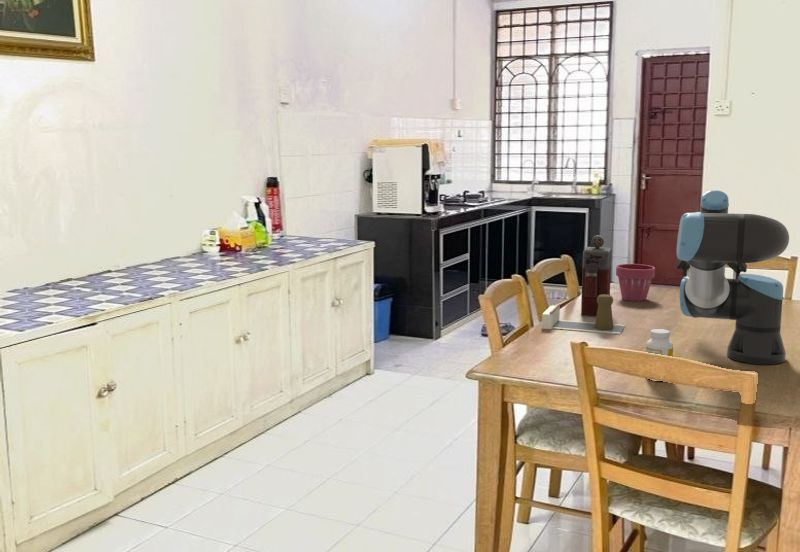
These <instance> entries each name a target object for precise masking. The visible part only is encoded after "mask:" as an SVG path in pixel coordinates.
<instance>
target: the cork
mask: <svg viewBox="0 0 800 552" xmlns="http://www.w3.org/2000/svg"><path fill="white" fill-rule="evenodd" d="M597 303H598V310H597V316H596V317H595V322H594V323H595V328H596V329H600V330H611V329H613V324H614V320H613V310H612V305H613V303H614V297H613V296H612V295H611V294H610V295H606V294H603V295H599V296H598V297H597Z"/></svg>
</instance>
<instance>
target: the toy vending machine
mask: <svg viewBox="0 0 800 552" xmlns="http://www.w3.org/2000/svg"><path fill="white" fill-rule="evenodd" d="M590 243H591V246H587V247H586V248H585V249H584V250H583V251H582V267H581V269H582V271H581V275H582V277H581V307H580V309H581V310H580V316H581V317H582V316H583V317H594V318H596V316H597V310H598V303H597V297H598V296H599V295H603V294H606V295H611V280H612V279H611V278H612V277H611V274H612V273H611V271H612V252H613V251H612V248H611V247H604V246H603V245H604V243H605V239H604V237H603V236H602V235H598V234H597V235H595V236H593V237H592V239H591V241H590Z"/></svg>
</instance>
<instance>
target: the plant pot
mask: <svg viewBox="0 0 800 552" xmlns="http://www.w3.org/2000/svg"><path fill="white" fill-rule="evenodd" d="M615 267H616V269H615V275H616V276H617V277H618V283H619V289H620V295H621V299H622V300H624V301H628V300H629V302H643V301H642V300H645V301H647V299H648V298H647V297H648V295H649V291H650V287H651V284H652V280H653V279H654V278H655V275H656V274H655V273H656V267H655V266H653V265H648V264H641V263H622V264H621V263H620V264H617V265H616V266H615Z"/></svg>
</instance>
